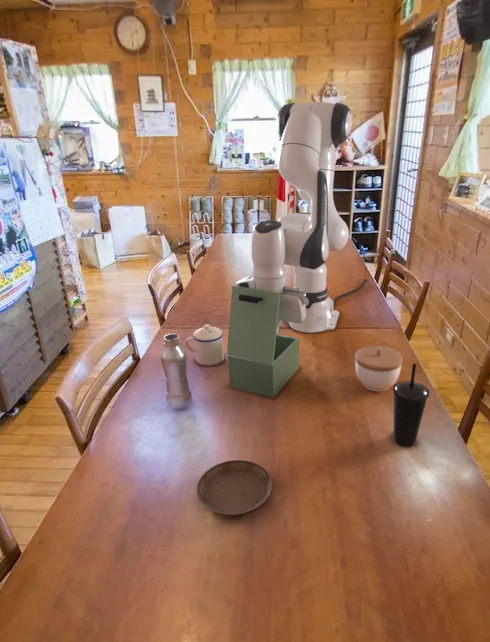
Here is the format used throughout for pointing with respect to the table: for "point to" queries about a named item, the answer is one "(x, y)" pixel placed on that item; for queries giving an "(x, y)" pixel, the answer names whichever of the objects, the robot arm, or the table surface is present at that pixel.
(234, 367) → the bin
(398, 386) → the drinking cup
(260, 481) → the saucer
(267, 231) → the robot arm
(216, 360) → the teacup with lid
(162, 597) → the table surface
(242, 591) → the table surface
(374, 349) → the lidded bowl
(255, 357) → the bin lid
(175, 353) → the silver metal bottle
